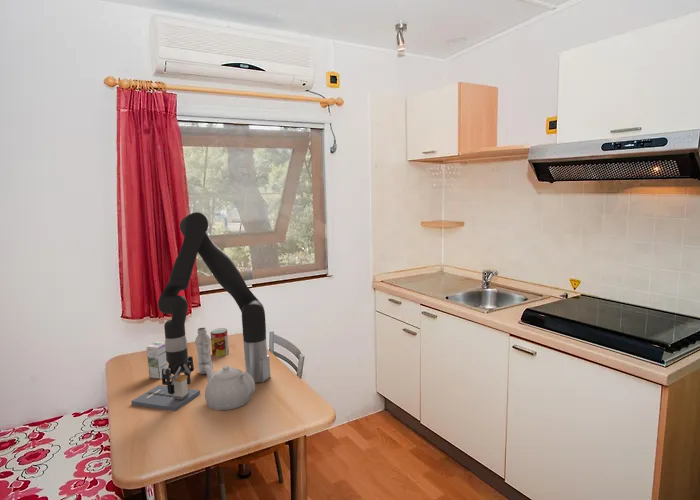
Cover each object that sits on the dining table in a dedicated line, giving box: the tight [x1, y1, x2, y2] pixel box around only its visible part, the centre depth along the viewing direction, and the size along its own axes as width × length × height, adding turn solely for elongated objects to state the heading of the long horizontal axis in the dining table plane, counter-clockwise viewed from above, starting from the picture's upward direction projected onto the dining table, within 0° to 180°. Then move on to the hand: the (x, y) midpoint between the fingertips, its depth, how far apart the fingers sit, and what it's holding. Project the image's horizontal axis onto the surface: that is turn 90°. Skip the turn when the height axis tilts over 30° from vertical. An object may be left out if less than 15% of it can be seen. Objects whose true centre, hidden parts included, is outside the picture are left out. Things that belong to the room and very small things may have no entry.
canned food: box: [209, 327, 230, 358], centre depth 208 cm, size 8×8×12 cm
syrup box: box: [145, 341, 169, 380], centre depth 184 cm, size 6×6×14 cm
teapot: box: [203, 365, 256, 411], centre depth 159 cm, size 19×18×14 cm
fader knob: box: [170, 373, 189, 400], centre depth 160 cm, size 4×4×8 cm
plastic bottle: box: [194, 327, 214, 375], centre depth 186 cm, size 6×7×20 cm
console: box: [130, 384, 201, 412], centre depth 163 cm, size 20×14×2 cm
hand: (179, 388), depth 161 cm, fingers open, 8 cm apart
